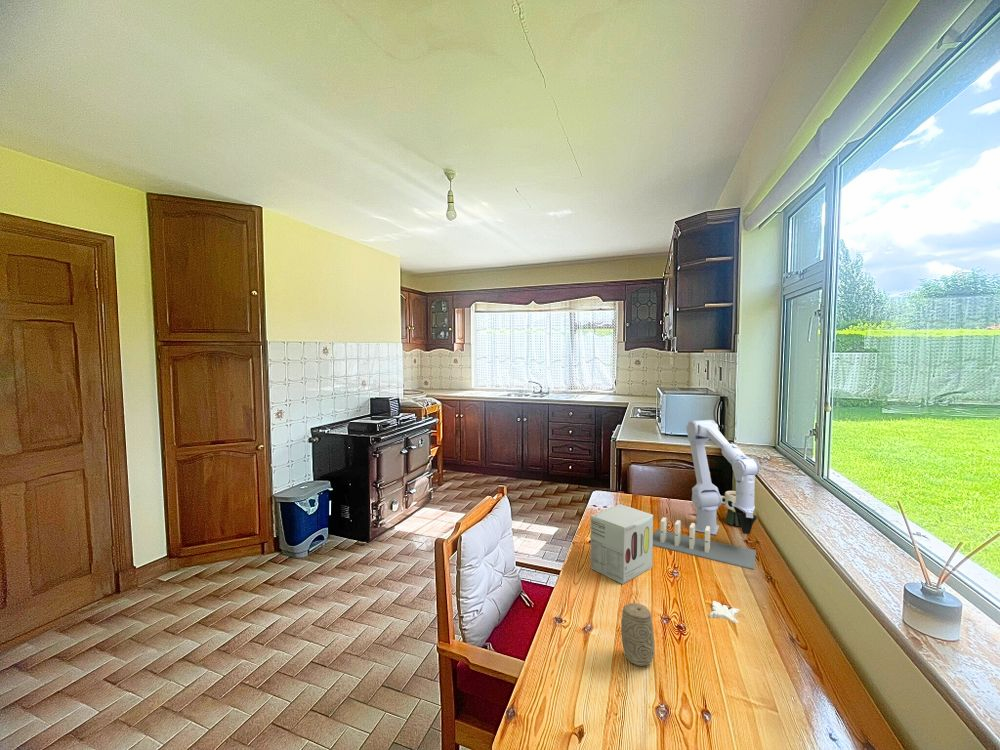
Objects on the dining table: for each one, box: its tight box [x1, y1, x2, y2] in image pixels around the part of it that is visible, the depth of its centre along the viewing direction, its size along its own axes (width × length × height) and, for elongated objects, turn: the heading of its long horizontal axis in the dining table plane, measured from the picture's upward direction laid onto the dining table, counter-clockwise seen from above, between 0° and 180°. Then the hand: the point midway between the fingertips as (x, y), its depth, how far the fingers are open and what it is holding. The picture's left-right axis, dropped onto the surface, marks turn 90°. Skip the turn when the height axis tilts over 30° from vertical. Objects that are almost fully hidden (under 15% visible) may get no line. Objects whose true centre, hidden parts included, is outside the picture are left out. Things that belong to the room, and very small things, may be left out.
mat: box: [653, 528, 757, 571], centre depth 151 cm, size 15×34×1 cm, turn 56°
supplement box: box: [590, 503, 654, 585], centre depth 137 cm, size 17×13×18 cm
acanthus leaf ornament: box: [709, 600, 740, 624], centre depth 113 cm, size 8×7×2 cm
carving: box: [620, 602, 655, 667], centre depth 96 cm, size 6×8×12 cm
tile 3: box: [688, 522, 696, 549], centre depth 151 cm, size 5×1×8 cm, turn 146°
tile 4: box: [704, 526, 711, 553], centre depth 148 cm, size 5×1×8 cm, turn 146°
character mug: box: [721, 490, 739, 527], centre depth 171 cm, size 11×7×13 cm, turn 60°
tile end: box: [741, 531, 748, 541], centre depth 147 cm, size 5×1×8 cm, turn 146°
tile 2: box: [674, 519, 682, 546], centre depth 154 cm, size 5×1×8 cm, turn 146°
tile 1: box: [659, 516, 668, 543], centre depth 156 cm, size 5×1×8 cm, turn 146°
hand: (744, 530), depth 147 cm, fingers closed on tile end, 5 cm apart
